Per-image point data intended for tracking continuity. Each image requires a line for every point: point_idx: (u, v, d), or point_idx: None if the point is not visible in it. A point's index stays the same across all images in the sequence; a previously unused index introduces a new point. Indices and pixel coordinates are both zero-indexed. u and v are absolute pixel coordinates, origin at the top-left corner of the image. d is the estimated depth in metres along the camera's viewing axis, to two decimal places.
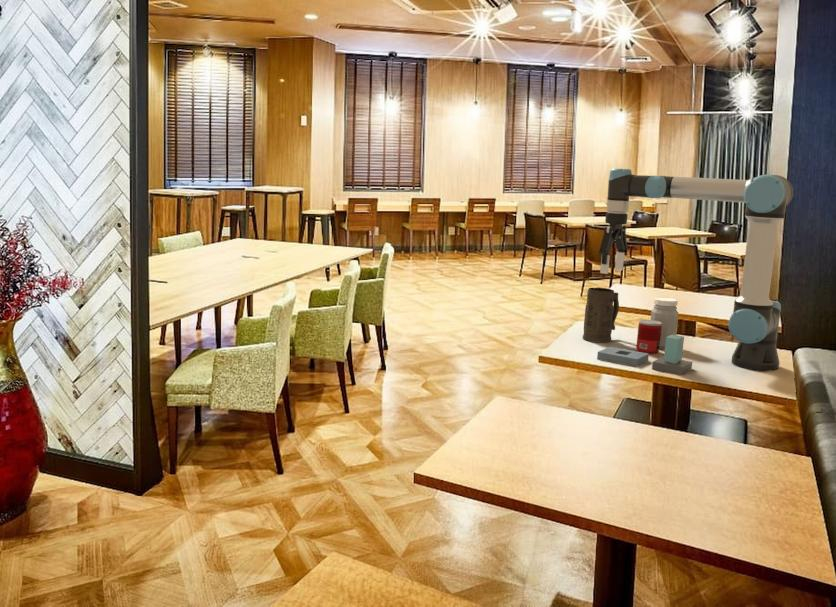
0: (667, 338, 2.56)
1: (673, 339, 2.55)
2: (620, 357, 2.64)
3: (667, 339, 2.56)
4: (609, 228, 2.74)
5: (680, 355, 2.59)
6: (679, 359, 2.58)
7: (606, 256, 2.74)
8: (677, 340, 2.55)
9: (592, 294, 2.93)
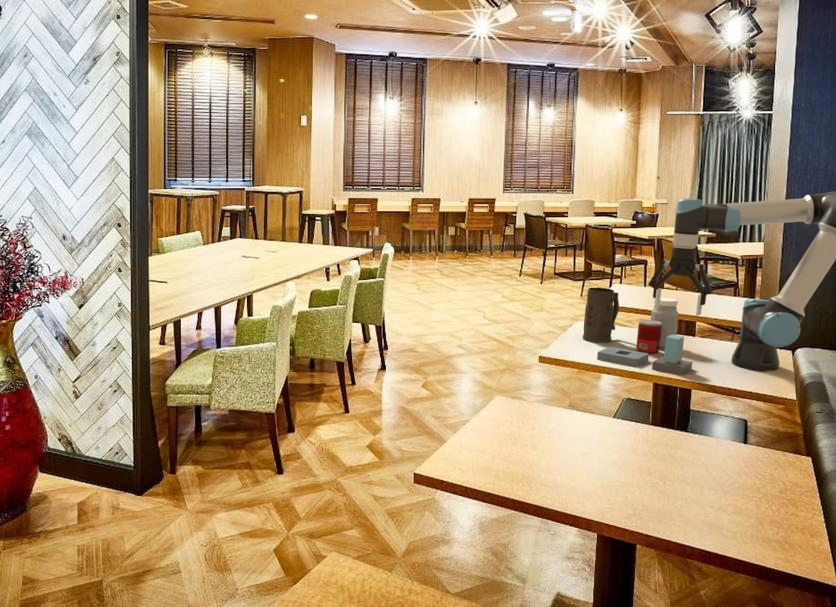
0: (667, 338, 2.56)
1: (673, 339, 2.55)
2: (620, 357, 2.64)
3: (667, 339, 2.56)
4: None
5: (680, 355, 2.59)
6: (679, 359, 2.58)
7: (655, 290, 2.59)
8: (677, 340, 2.55)
9: (592, 294, 2.93)
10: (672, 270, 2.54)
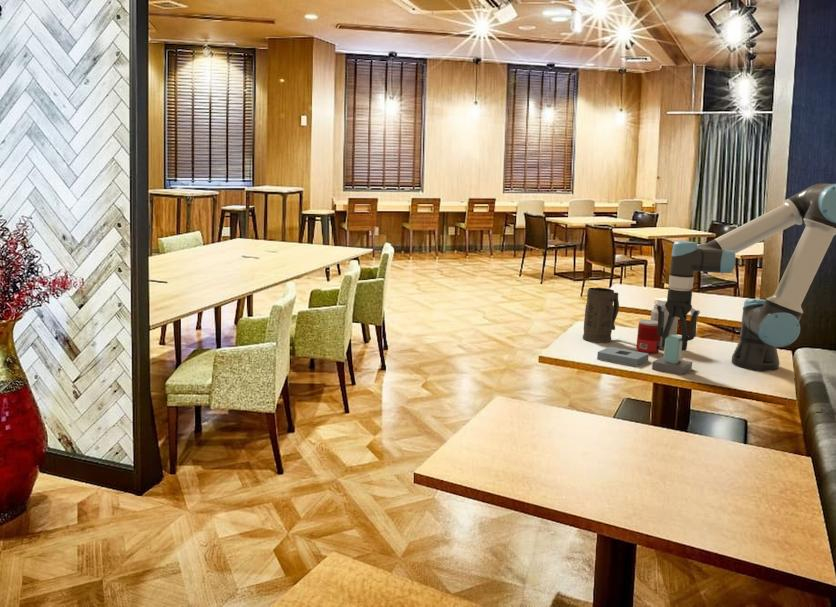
0: (667, 338, 2.56)
1: (673, 339, 2.55)
2: (620, 357, 2.64)
3: (667, 339, 2.56)
4: None
5: None
6: None
7: (665, 339, 2.59)
8: (677, 340, 2.55)
9: (592, 294, 2.93)
10: (670, 313, 2.56)
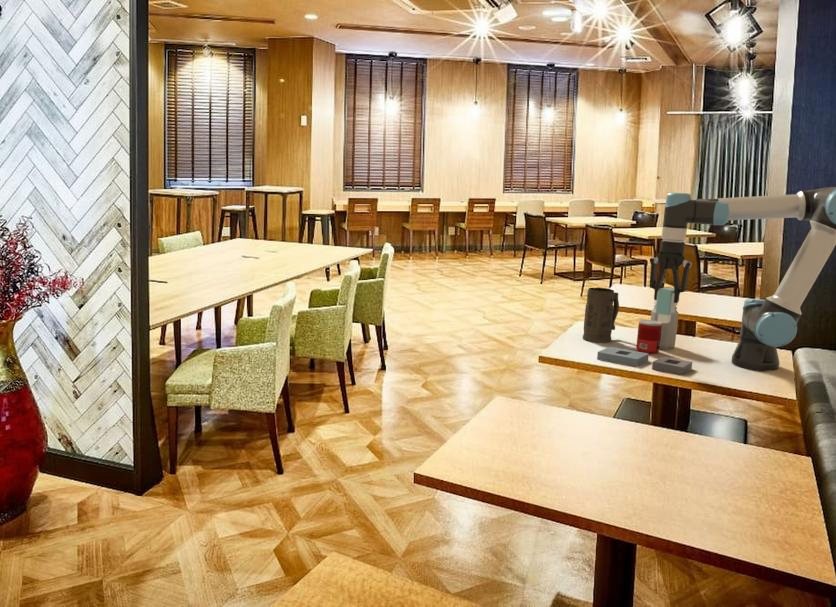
0: (659, 290, 2.56)
1: (665, 291, 2.55)
2: (620, 357, 2.64)
3: (659, 291, 2.56)
4: None
5: None
6: None
7: (657, 291, 2.58)
8: (669, 292, 2.54)
9: (592, 294, 2.93)
10: (663, 265, 2.55)
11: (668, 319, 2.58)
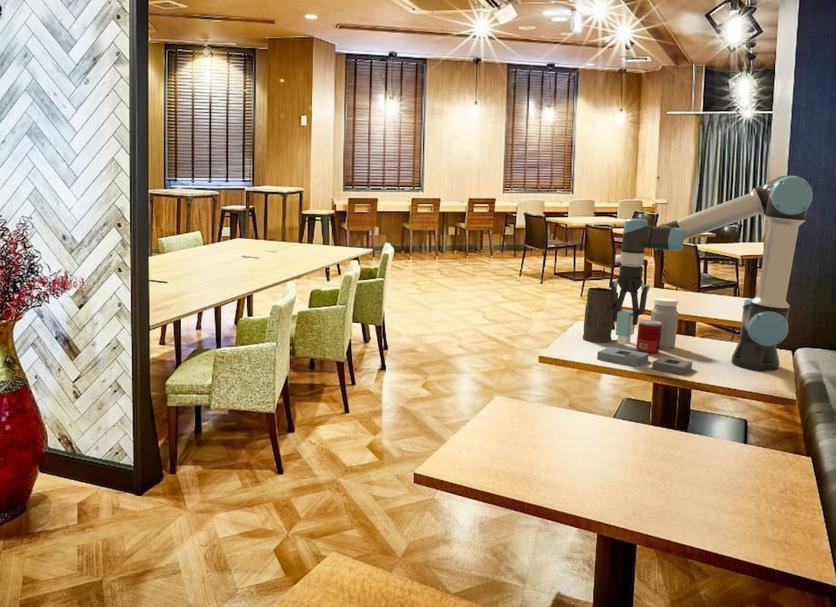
0: (619, 312, 2.65)
1: (624, 313, 2.64)
2: (620, 357, 2.64)
3: (619, 313, 2.65)
4: None
5: None
6: None
7: (617, 313, 2.68)
8: (628, 314, 2.63)
9: (592, 294, 2.93)
10: (622, 288, 2.65)
11: (628, 340, 2.67)
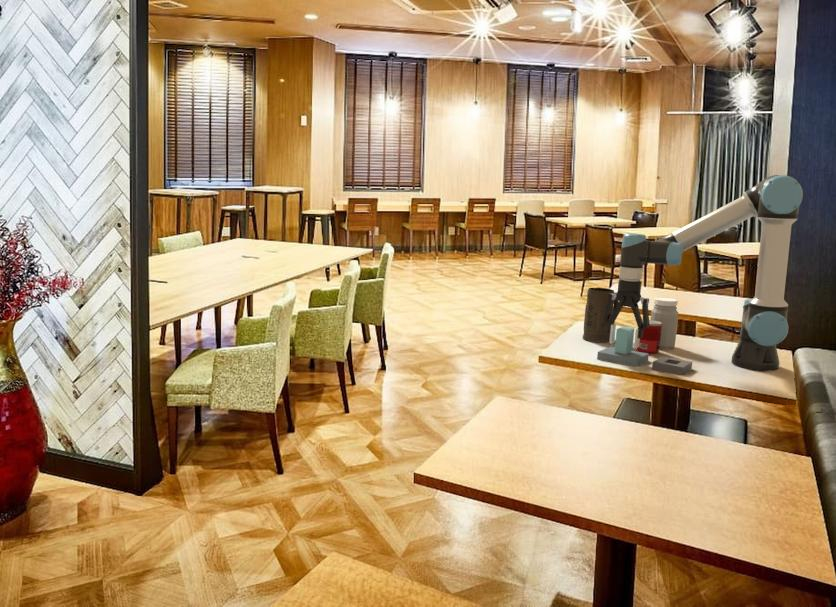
0: (617, 330, 2.66)
1: (623, 331, 2.65)
2: (620, 357, 2.64)
3: (617, 331, 2.66)
4: None
5: (630, 346, 2.68)
6: (629, 350, 2.68)
7: (610, 325, 2.70)
8: (627, 332, 2.64)
9: (592, 294, 2.93)
10: (620, 302, 2.66)
11: None
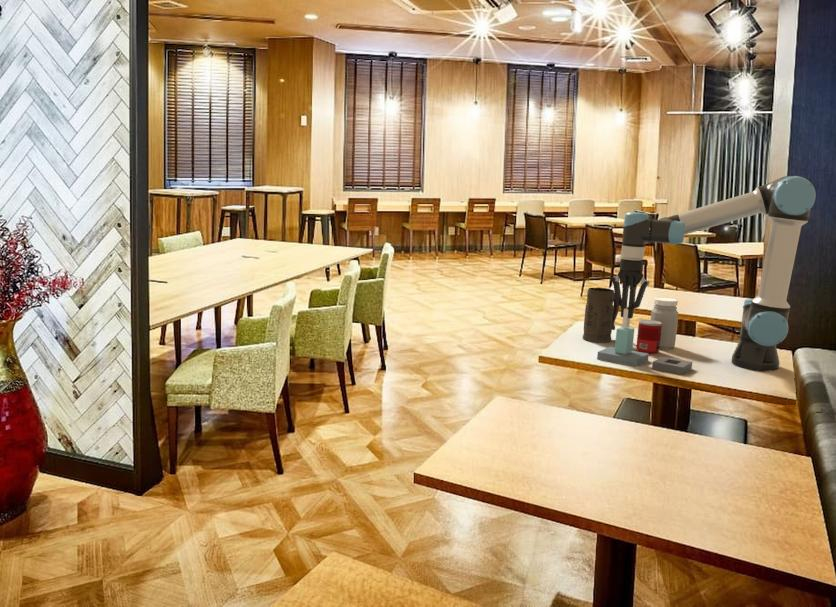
0: (617, 330, 2.66)
1: (623, 331, 2.65)
2: (620, 357, 2.64)
3: (617, 331, 2.66)
4: None
5: (630, 346, 2.68)
6: (629, 350, 2.68)
7: (624, 308, 2.66)
8: (627, 332, 2.64)
9: (592, 294, 2.93)
10: (624, 283, 2.64)
11: None
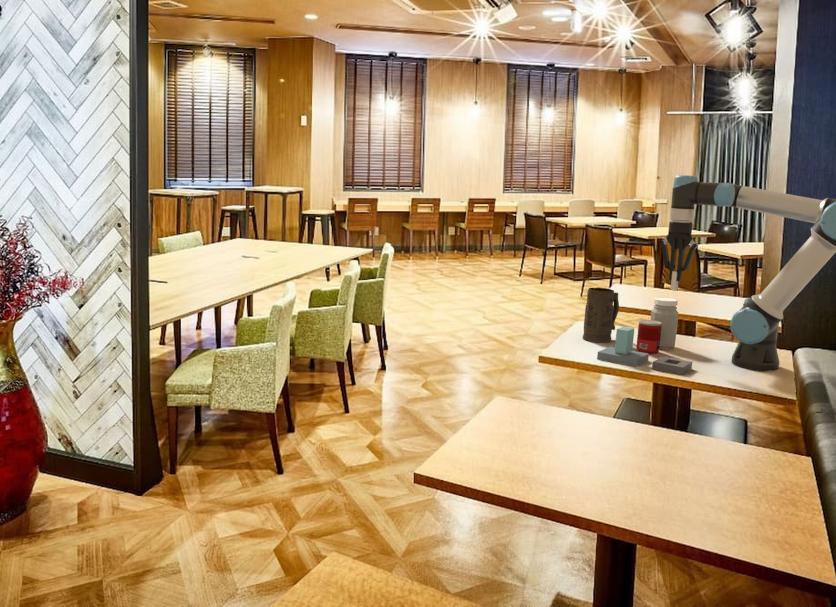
0: (617, 330, 2.66)
1: (623, 331, 2.65)
2: (620, 357, 2.64)
3: (617, 331, 2.66)
4: None
5: (630, 346, 2.68)
6: (629, 350, 2.68)
7: None
8: (627, 332, 2.64)
9: (592, 294, 2.93)
10: (673, 245, 2.66)
11: None
